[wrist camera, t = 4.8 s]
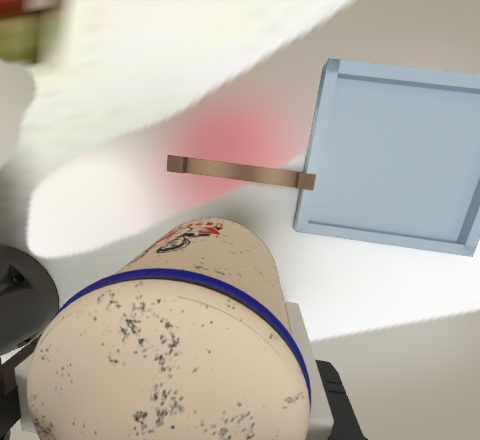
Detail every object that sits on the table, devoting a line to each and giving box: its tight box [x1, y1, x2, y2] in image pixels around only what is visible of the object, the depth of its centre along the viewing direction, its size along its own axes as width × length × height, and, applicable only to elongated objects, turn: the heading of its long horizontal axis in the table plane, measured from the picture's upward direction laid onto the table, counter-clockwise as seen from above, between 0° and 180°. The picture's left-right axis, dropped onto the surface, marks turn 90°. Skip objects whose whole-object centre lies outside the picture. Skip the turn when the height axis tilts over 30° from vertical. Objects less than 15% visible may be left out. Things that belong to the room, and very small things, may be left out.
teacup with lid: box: [27, 218, 311, 440], centre depth 11 cm, size 12×9×12 cm
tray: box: [293, 59, 480, 257], centre depth 26 cm, size 20×18×2 cm
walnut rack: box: [167, 155, 316, 191], centre depth 27 cm, size 14×18×6 cm
